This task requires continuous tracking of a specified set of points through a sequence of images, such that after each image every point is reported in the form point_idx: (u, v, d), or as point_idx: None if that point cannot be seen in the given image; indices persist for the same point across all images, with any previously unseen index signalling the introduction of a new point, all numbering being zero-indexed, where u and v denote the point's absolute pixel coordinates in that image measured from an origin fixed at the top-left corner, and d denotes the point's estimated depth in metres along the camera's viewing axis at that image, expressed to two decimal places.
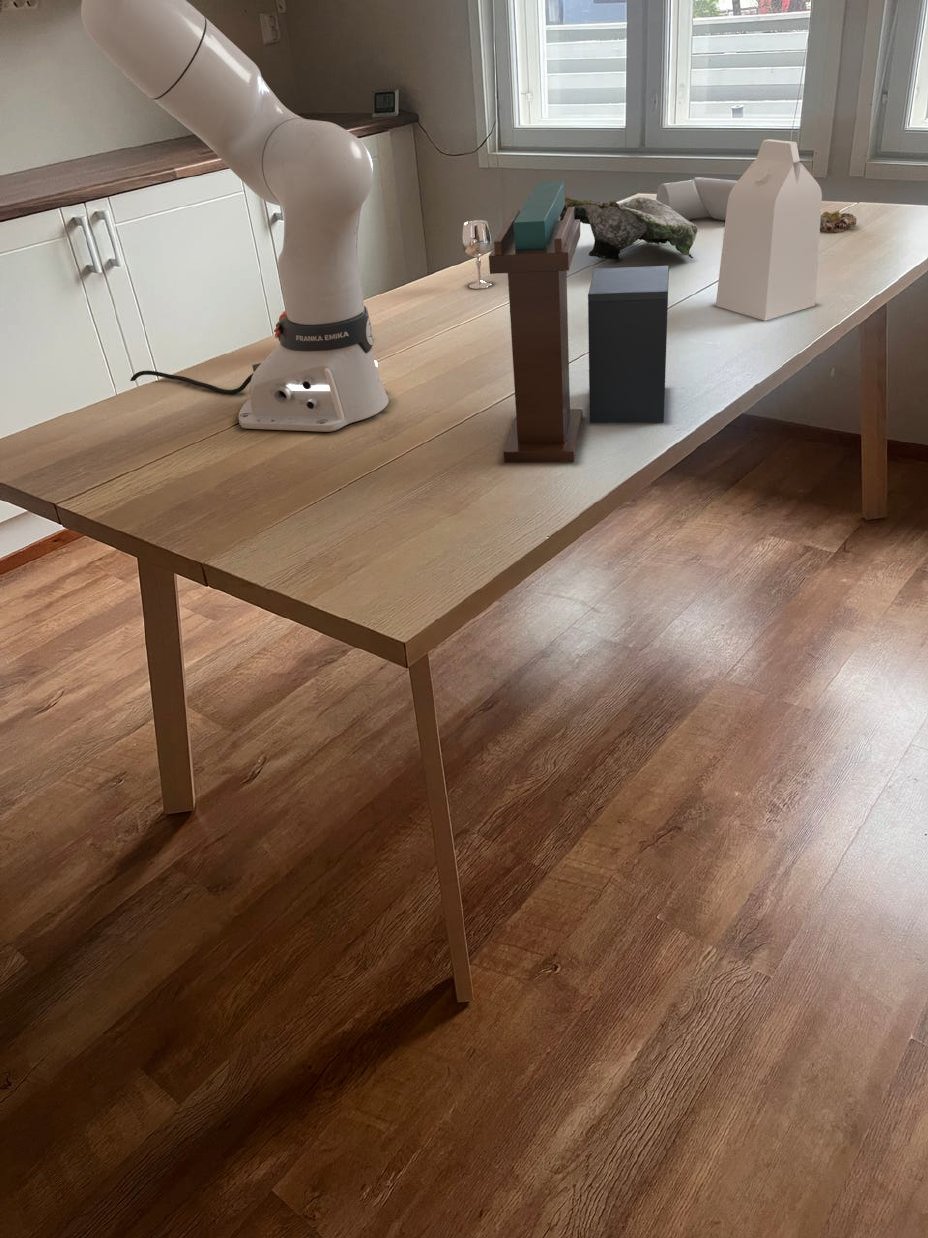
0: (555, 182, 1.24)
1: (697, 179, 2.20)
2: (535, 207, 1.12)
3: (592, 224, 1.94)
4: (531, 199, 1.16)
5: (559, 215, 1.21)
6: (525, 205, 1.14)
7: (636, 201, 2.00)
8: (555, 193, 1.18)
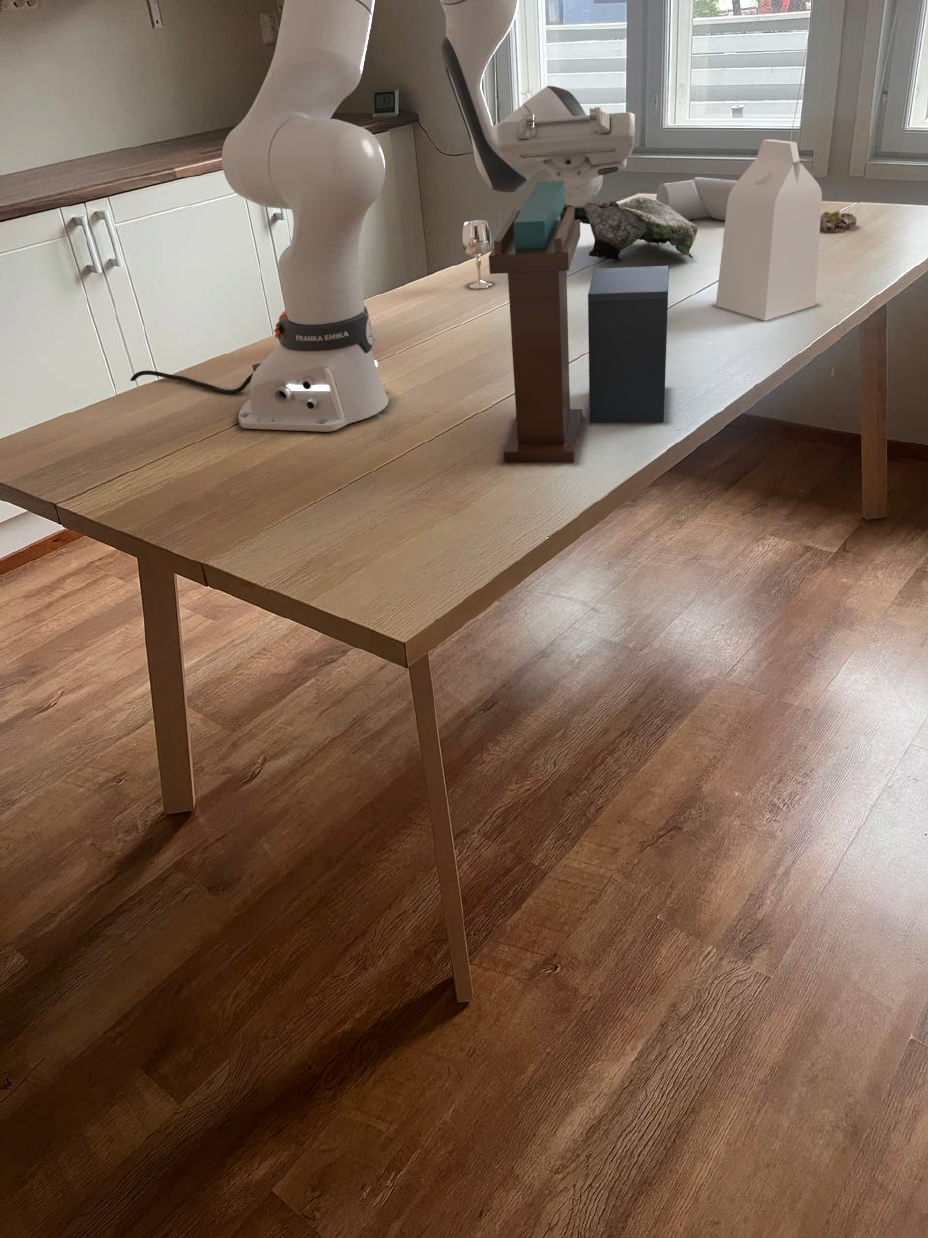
0: (555, 182, 1.24)
1: (697, 179, 2.20)
2: (535, 207, 1.12)
3: (592, 224, 1.94)
4: (531, 199, 1.16)
5: (559, 215, 1.21)
6: (525, 205, 1.14)
7: (636, 201, 2.00)
8: (555, 193, 1.18)
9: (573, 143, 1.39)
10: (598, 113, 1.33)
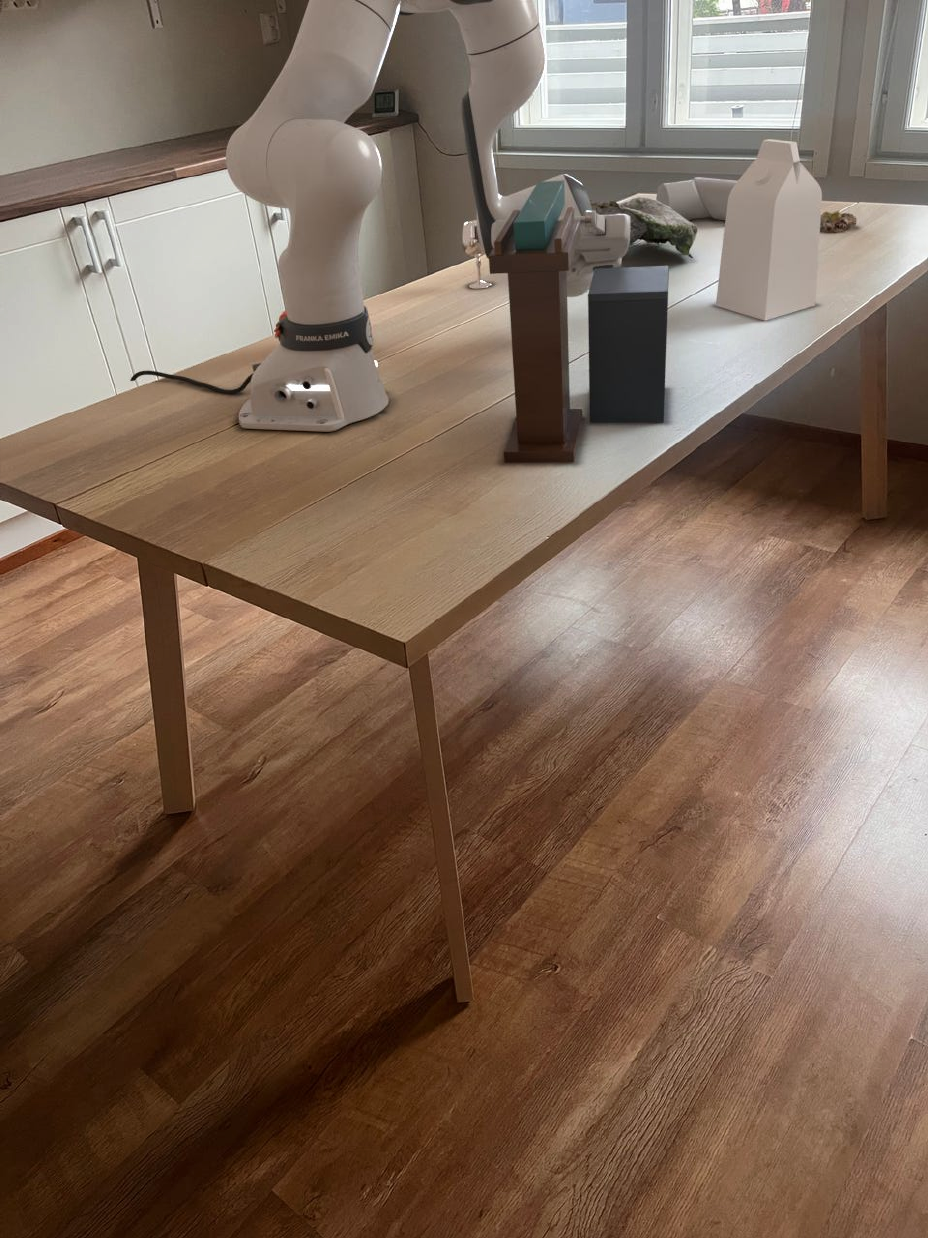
0: (555, 182, 1.24)
1: (697, 179, 2.20)
2: (535, 207, 1.12)
3: None
4: (531, 199, 1.16)
5: (559, 215, 1.21)
6: (525, 205, 1.14)
7: (636, 201, 2.00)
8: (555, 193, 1.18)
9: None
10: (593, 217, 1.31)
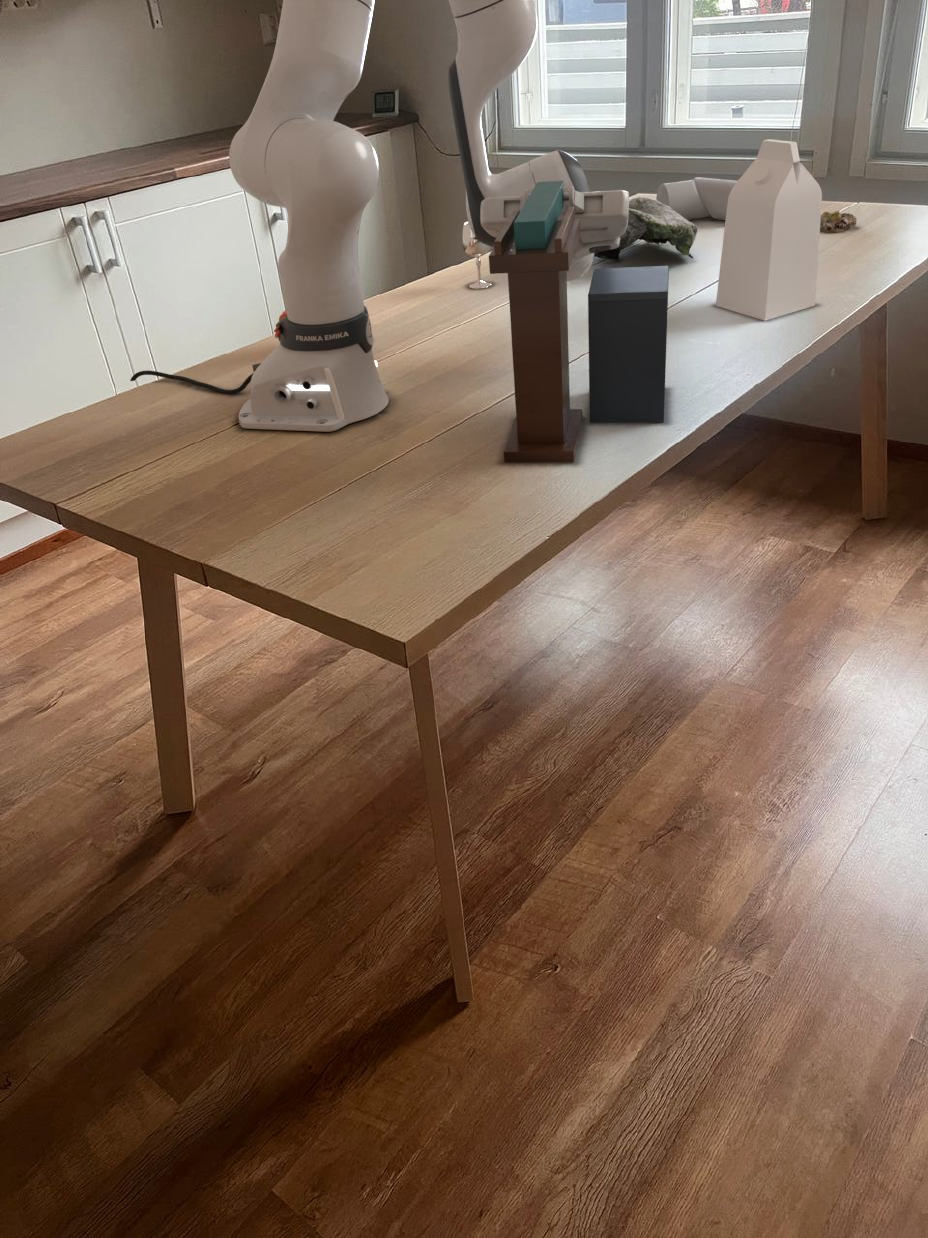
0: (555, 182, 1.24)
1: (697, 179, 2.20)
2: (535, 207, 1.12)
3: None
4: (531, 199, 1.16)
5: (559, 215, 1.21)
6: (525, 205, 1.14)
7: (636, 201, 2.00)
8: (555, 193, 1.18)
9: None
10: (571, 193, 1.23)
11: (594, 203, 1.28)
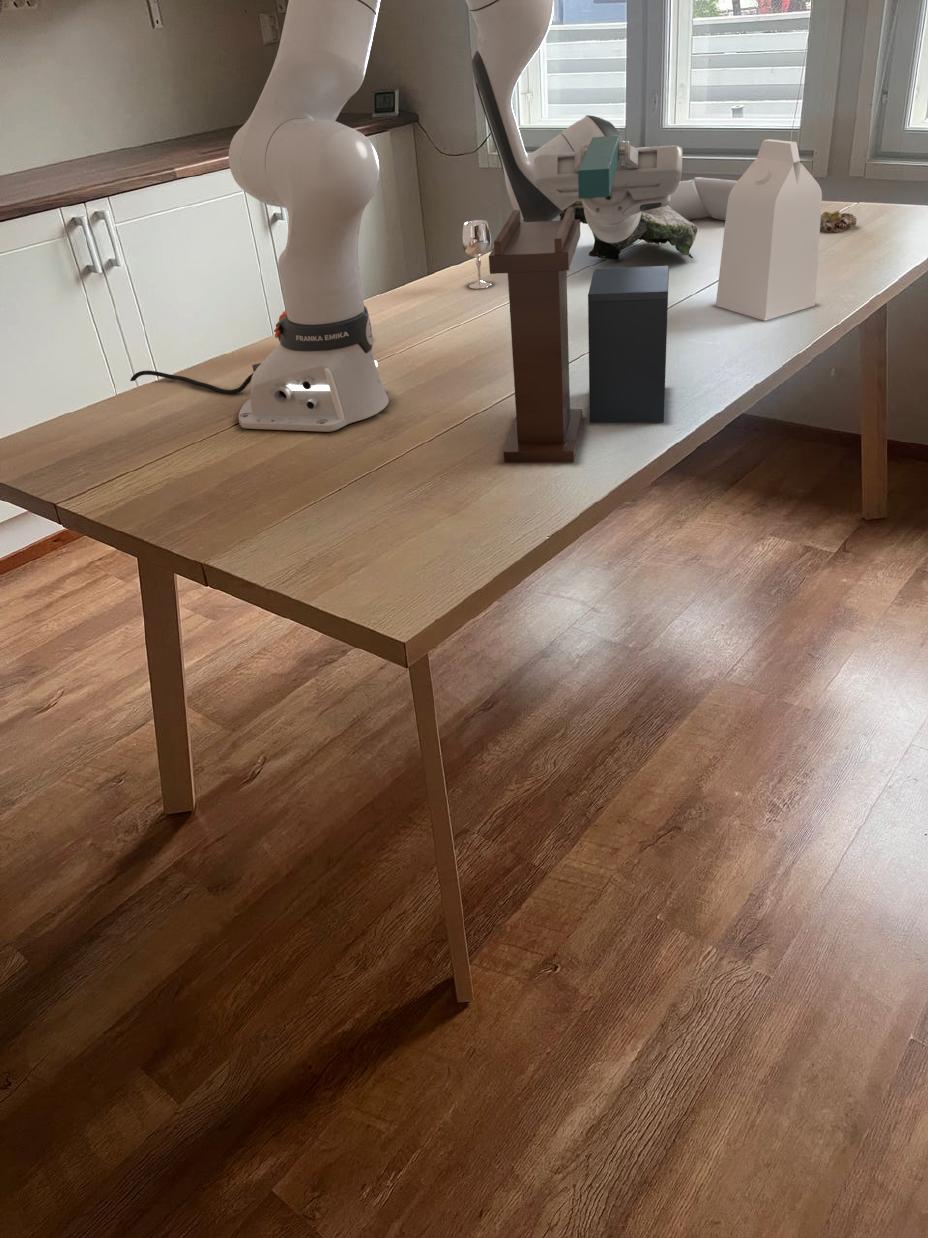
0: (610, 137, 1.25)
1: (697, 179, 2.20)
2: (596, 157, 1.14)
3: None
4: (590, 151, 1.18)
5: None
6: (585, 156, 1.15)
7: None
8: (613, 146, 1.20)
9: (615, 177, 1.30)
10: (627, 147, 1.24)
11: (648, 159, 1.29)
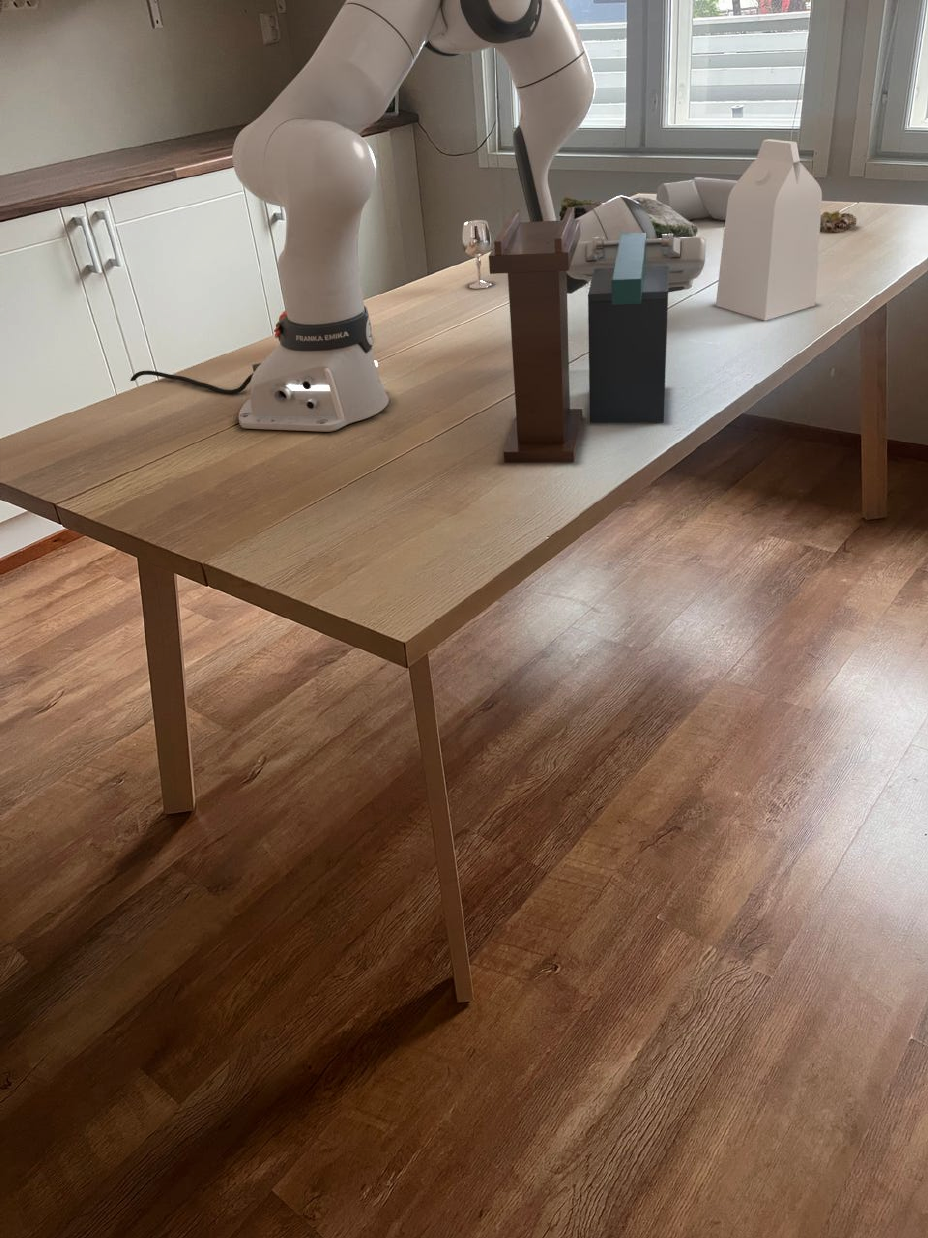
0: (638, 234, 1.32)
1: (697, 179, 2.20)
2: (627, 263, 1.20)
3: None
4: (620, 254, 1.24)
5: None
6: (617, 260, 1.22)
7: (636, 201, 2.00)
8: (642, 247, 1.26)
9: None
10: (671, 240, 1.30)
11: None
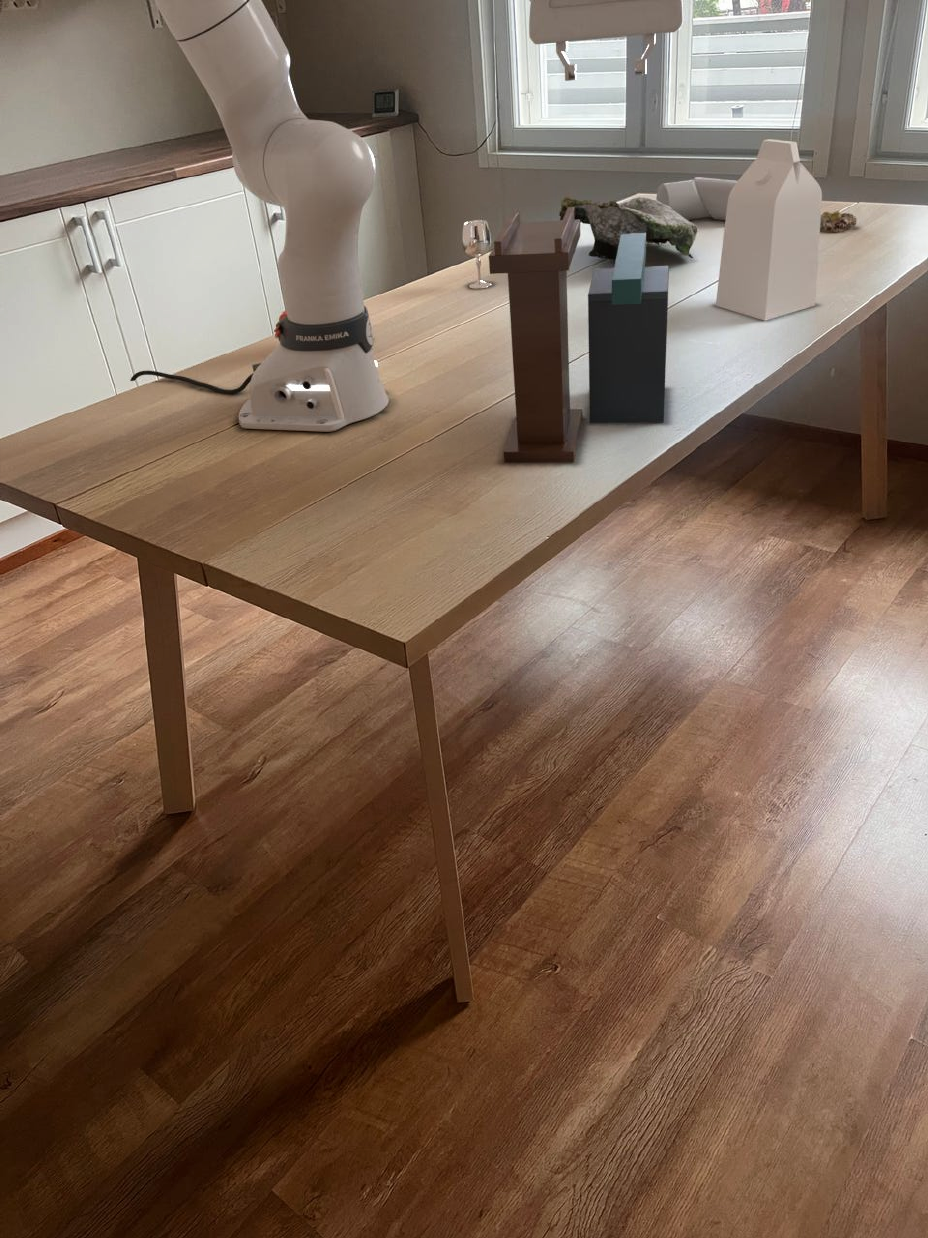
0: (638, 234, 1.32)
1: (697, 179, 2.20)
2: (627, 263, 1.20)
3: (592, 224, 1.94)
4: (620, 254, 1.24)
5: None
6: (617, 260, 1.22)
7: (636, 201, 2.00)
8: (642, 247, 1.26)
9: None
10: (644, 73, 1.29)
11: None
